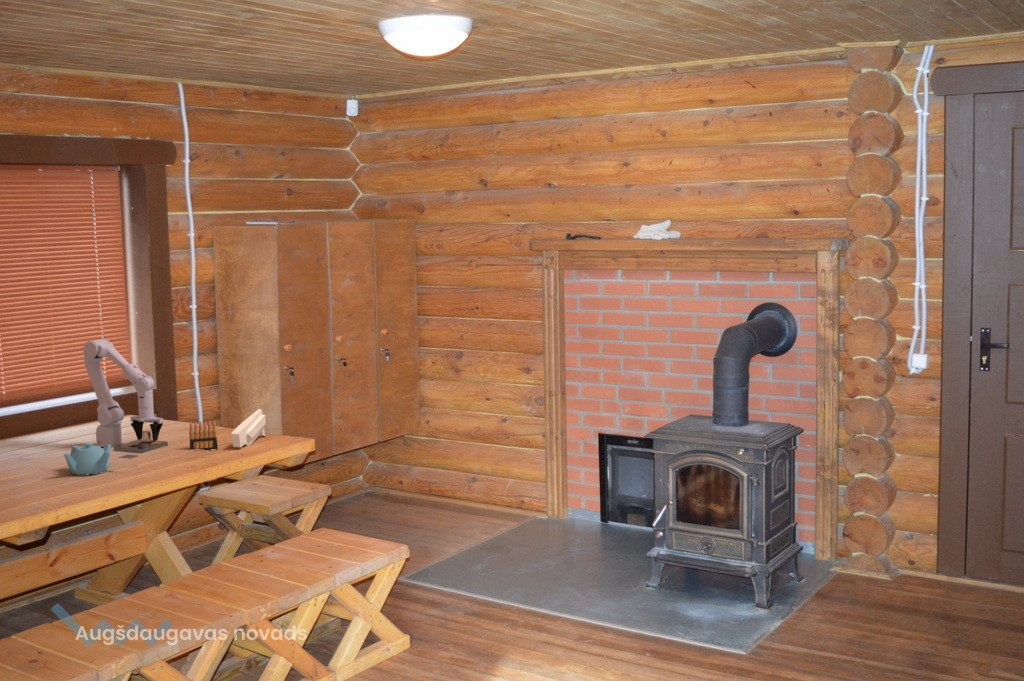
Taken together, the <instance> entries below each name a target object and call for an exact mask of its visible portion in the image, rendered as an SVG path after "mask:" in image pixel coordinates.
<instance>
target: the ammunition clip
mask: <svg viewBox="0 0 1024 681" xmlns="http://www.w3.org/2000/svg"><path fill="white" fill-rule="evenodd" d="M216 425H217V424H216V421H215V420H212V422H211V421H210V420H208V424H207V422H206V420H204V422H203V423H202V421H199V425H198V423H197V421H194V426H193V422H192V421H190V423H189V450H192V451H193V450H209V451H212V450H211V449H218V437H217V433H218V432H217V426H216Z"/></svg>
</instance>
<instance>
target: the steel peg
mask: <svg viewBox="0 0 1024 681" xmlns="http://www.w3.org/2000/svg"><path fill="white" fill-rule="evenodd" d="M142 433H143V437H142V439H143V443H147V444H149V443H152V440H153V439H152V431H151V429H149V430H142Z"/></svg>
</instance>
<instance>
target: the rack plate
mask: <svg viewBox="0 0 1024 681" xmlns="http://www.w3.org/2000/svg"><path fill="white" fill-rule="evenodd" d="M168 446H169V442H168V441H166V440H165V441H164V440H156V441H153V439H152V443H149V444H147V443H143V438H142V439H140V440H138V439H136V440H132V441H129V442H125V443H122V444H120V445H116V446H113V451H114V452H115V451H116V452H123V453H124V452H126V453H137V454H145V453H149V452H151V451H154V450H157V449H161V448H163V447H168Z"/></svg>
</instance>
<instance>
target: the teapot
mask: <svg viewBox="0 0 1024 681" xmlns="http://www.w3.org/2000/svg"><path fill="white" fill-rule="evenodd" d="M83 445H84V446H80V445H77V444H75V445H72V446H71V448H70V449H71V450H70V453H65V454H63V456H64V458H65V461H66V464H67V466H68V470H69V471H70V473H72V474H73V475H75V474H78V475H77V476H88V475H87V474H95V475H97V474H96V473H100V474H102V473H101V472H103V473H105V472H107V470H108V469H109V467H110V466H111V463H110V457H111V456H110V455H111V449H112V446H111V444H106V446H105V448H101V447H100V446H97V445H93V442H85V443H84V444H83ZM104 471H105V472H104Z"/></svg>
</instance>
